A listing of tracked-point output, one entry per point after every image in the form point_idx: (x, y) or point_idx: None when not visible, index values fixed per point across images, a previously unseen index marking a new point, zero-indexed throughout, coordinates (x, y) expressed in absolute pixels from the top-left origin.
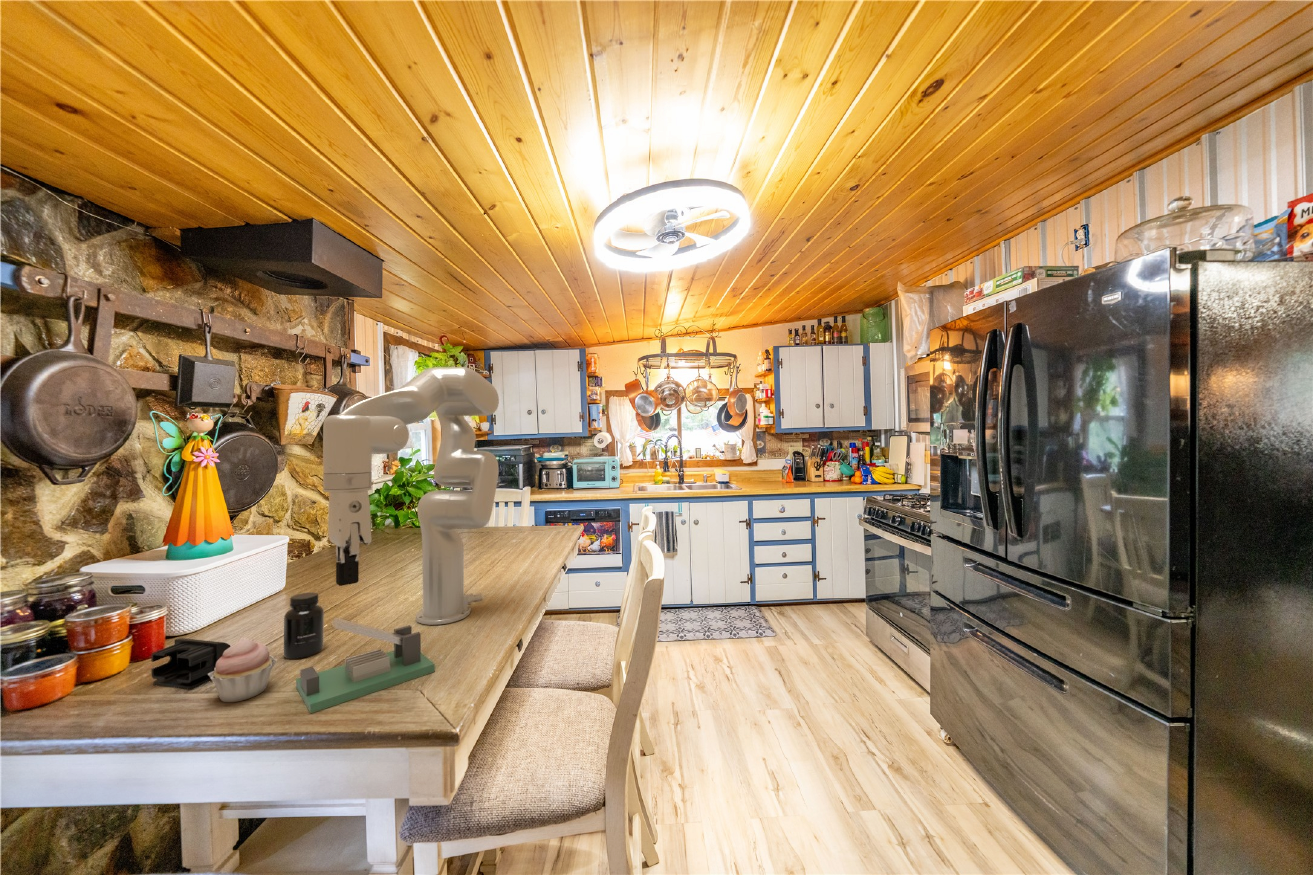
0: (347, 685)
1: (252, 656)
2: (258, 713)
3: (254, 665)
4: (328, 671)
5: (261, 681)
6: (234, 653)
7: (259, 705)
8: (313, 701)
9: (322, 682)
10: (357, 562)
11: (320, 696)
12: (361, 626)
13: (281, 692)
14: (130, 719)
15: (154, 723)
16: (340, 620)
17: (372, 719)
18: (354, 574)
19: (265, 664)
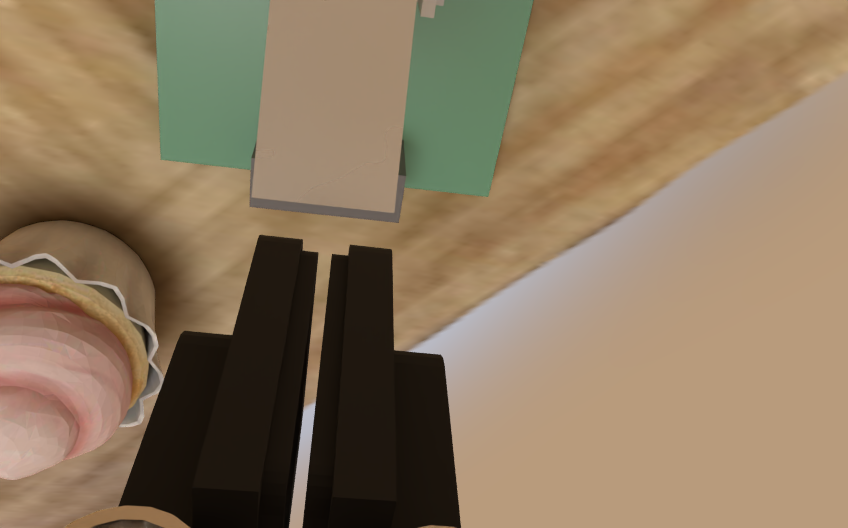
0: (446, 31)
1: (94, 390)
2: (315, 285)
3: (125, 359)
4: (186, 29)
5: (131, 279)
6: (63, 457)
7: (246, 270)
8: (473, 181)
9: None
10: (387, 485)
11: (450, 149)
12: (370, 1)
13: (182, 193)
14: (48, 495)
15: (132, 464)
16: (330, 178)
17: (764, 43)
18: (446, 391)
19: (94, 306)
